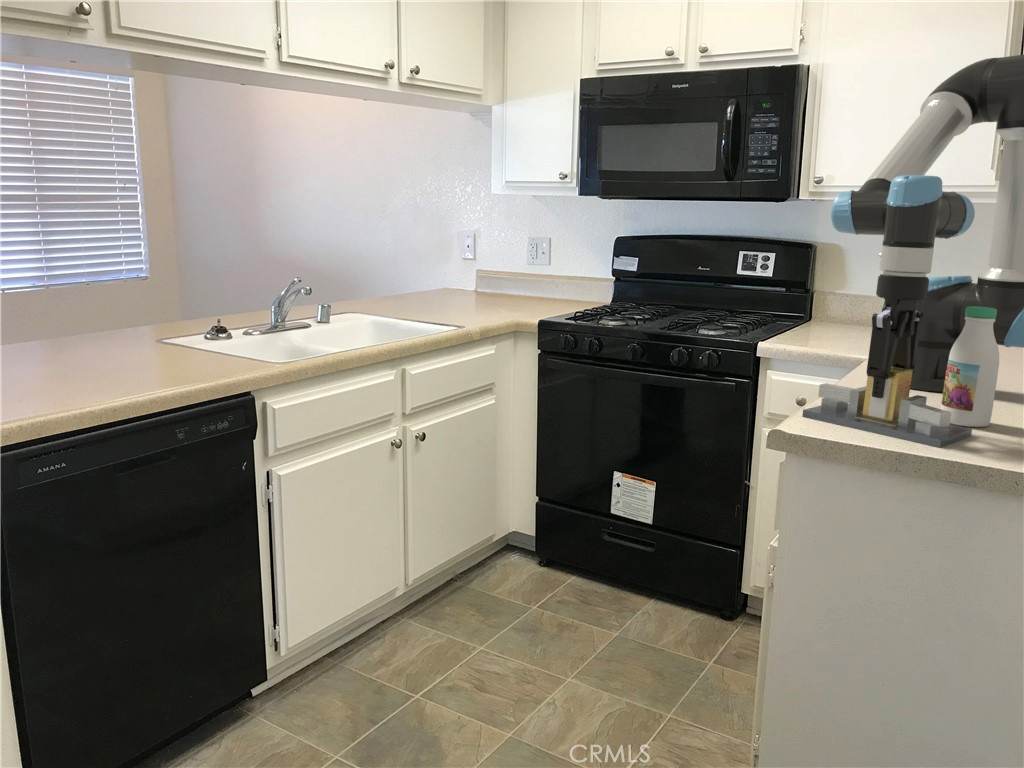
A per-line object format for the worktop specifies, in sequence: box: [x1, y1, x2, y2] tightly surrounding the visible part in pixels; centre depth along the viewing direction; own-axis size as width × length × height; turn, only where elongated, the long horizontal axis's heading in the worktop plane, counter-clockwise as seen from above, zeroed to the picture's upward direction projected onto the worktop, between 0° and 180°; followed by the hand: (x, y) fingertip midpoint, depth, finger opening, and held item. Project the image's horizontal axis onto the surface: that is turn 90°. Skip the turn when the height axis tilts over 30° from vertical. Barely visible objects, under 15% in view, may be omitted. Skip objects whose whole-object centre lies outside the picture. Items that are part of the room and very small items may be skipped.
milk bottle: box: [940, 306, 1000, 428], centre depth 140 cm, size 8×8×20 cm
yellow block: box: [863, 367, 913, 421], centre depth 137 cm, size 5×5×8 cm
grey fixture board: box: [802, 383, 973, 448], centre depth 137 cm, size 12×23×6 cm, turn 41°
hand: (885, 414), depth 137 cm, fingers closed on yellow block, 5 cm apart
